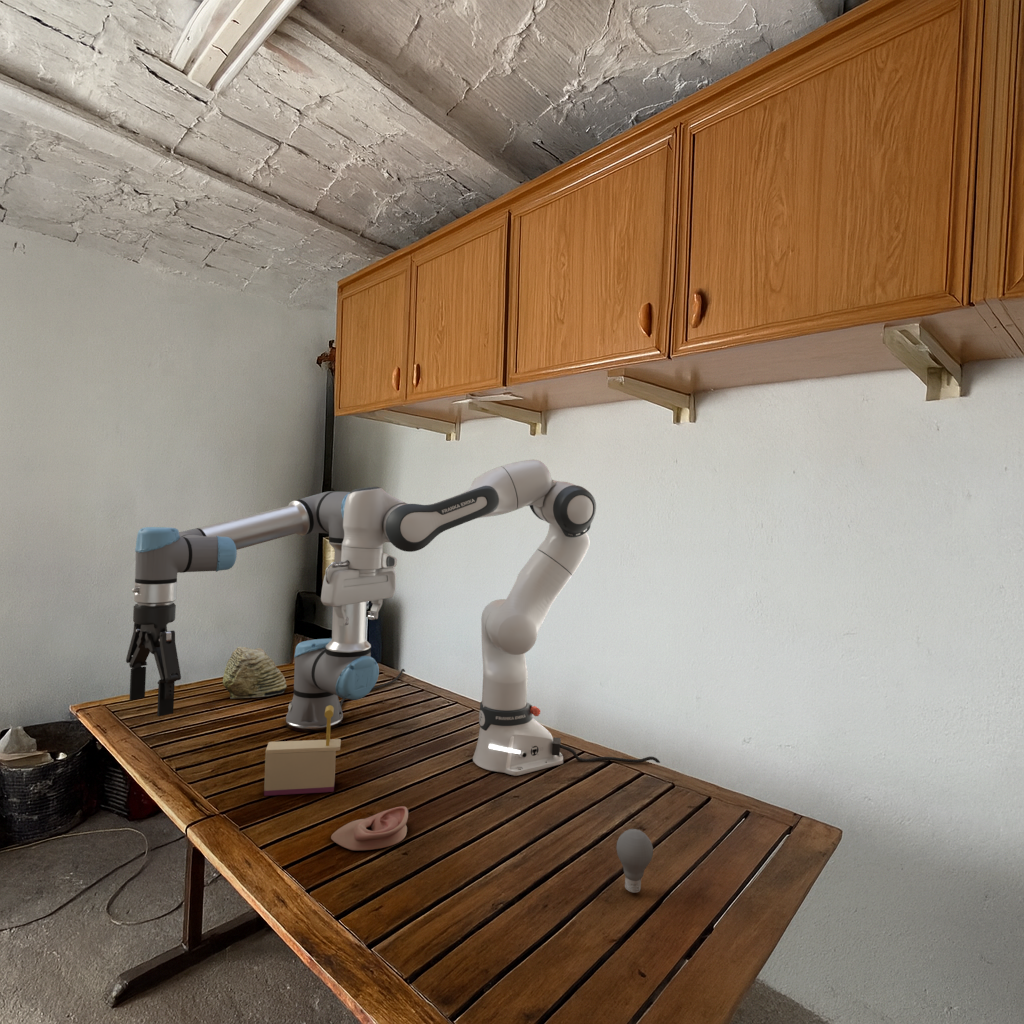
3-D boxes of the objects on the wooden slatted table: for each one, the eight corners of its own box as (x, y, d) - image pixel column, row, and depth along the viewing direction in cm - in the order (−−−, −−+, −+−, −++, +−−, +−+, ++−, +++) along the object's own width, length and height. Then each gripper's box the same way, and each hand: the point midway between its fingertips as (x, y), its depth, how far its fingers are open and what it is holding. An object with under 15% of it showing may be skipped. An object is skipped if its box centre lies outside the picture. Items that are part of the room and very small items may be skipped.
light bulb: (610, 879, 108) (613, 822, 108) (644, 879, 109) (647, 822, 109) (619, 902, 102) (622, 840, 102) (655, 901, 103) (658, 840, 103)
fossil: (218, 695, 195) (220, 647, 195) (278, 685, 208) (279, 640, 207) (228, 703, 189) (230, 653, 188) (289, 692, 201) (290, 645, 201)
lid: (340, 742, 141) (342, 703, 141) (340, 750, 136) (341, 710, 136) (268, 745, 137) (270, 706, 137) (265, 754, 133) (267, 713, 133)
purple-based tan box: (334, 782, 141) (336, 743, 141) (333, 791, 136) (335, 751, 136) (267, 786, 138) (268, 745, 137) (263, 795, 133) (265, 754, 133)
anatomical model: (323, 824, 115) (352, 795, 126) (322, 845, 115) (351, 815, 126) (392, 835, 112) (415, 805, 123) (391, 857, 112) (414, 825, 123)
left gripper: (111, 596, 134) (107, 696, 134) (162, 613, 119) (157, 726, 119) (149, 593, 140) (145, 689, 140) (202, 609, 124) (197, 717, 125)
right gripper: (338, 563, 129) (334, 631, 129) (401, 558, 147) (398, 618, 147) (315, 560, 132) (312, 626, 132) (380, 556, 150) (377, 614, 150)
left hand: (150, 706), depth 130 cm, fingers open, 13 cm apart
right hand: (358, 622), depth 140 cm, fingers open, 8 cm apart
